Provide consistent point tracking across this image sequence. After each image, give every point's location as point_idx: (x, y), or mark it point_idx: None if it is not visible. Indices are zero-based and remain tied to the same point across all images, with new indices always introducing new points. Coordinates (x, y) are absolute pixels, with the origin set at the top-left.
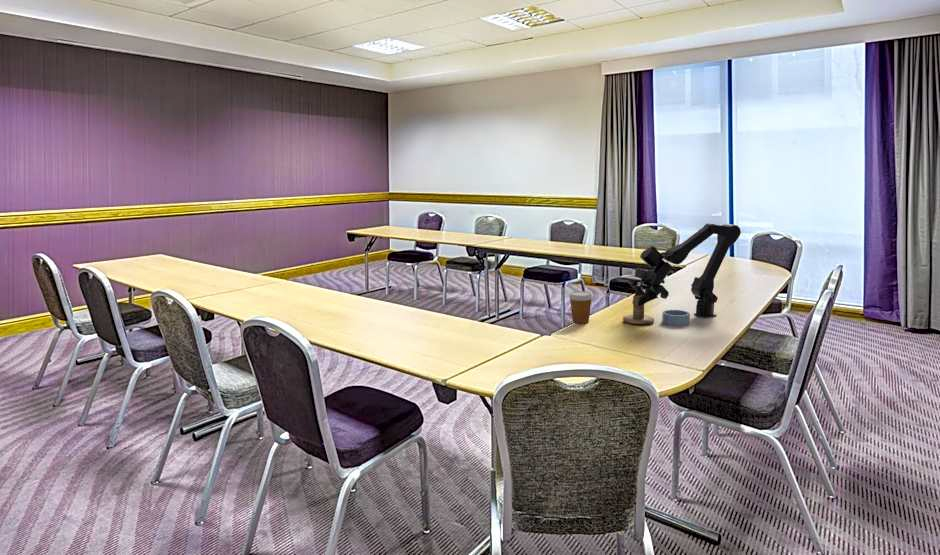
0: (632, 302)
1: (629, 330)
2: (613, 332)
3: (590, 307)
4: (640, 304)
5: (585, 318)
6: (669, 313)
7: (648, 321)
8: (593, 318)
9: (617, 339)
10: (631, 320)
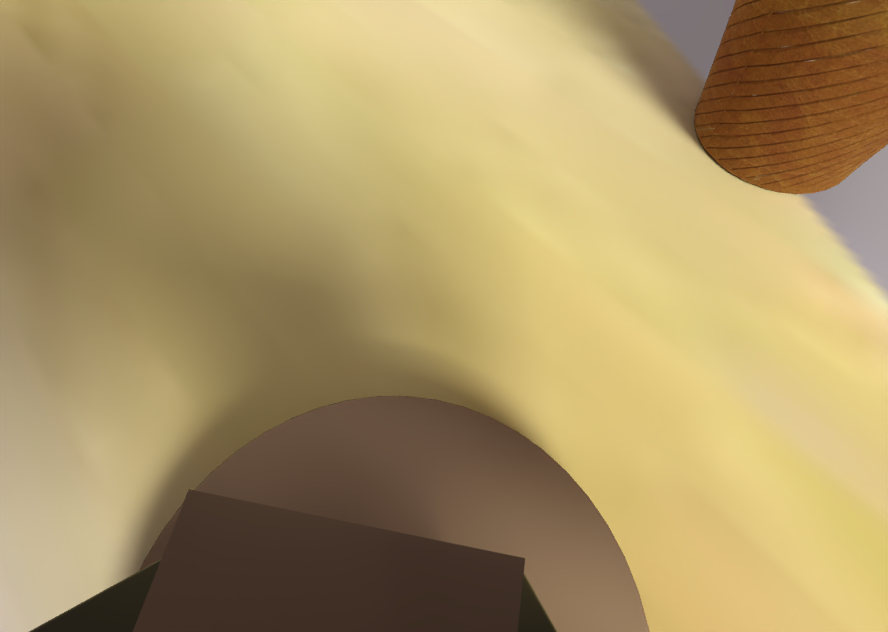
0: None
1: (223, 237)
2: (302, 103)
3: (821, 31)
4: None
5: (714, 74)
6: None
7: None
8: (871, 315)
9: (153, 9)
10: (373, 443)
